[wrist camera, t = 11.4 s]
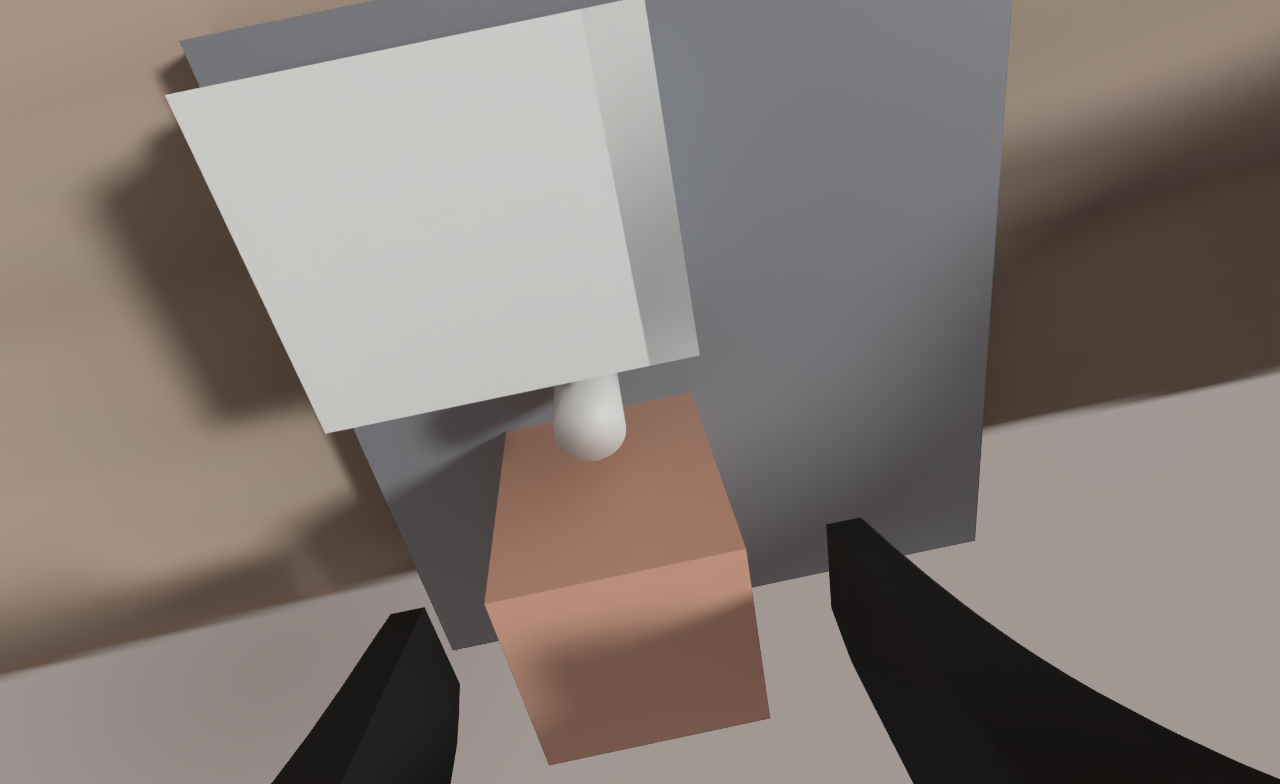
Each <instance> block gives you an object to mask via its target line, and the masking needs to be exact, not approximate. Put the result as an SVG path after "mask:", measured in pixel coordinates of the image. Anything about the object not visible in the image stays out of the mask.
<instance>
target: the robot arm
mask: <svg viewBox="0 0 1280 784" xmlns="http://www.w3.org/2000/svg"><path fill="white" fill-rule="evenodd" d="M826 532H827V547H828V562H829V577H830V593H831V607H832V610H833V613H834V616H835V619H836V622H837V624H838V627H839V630H840V632H841V635H842V638H843V640H844V643H845V645H846V648H847V651H848V654H849V656H850V659H851V661H852V663H853V665H854V667H855V669H856V672H857V674H858V676H859V678H860V679H861V681H862V683H863V685H864V687H865V689H866V691H867V693H868V695H869V697H870V699H871V701H872V703H873V705H874V707H875V709H876V711H877V713H878V715H879V717H880V719H881V721H882V723H883V725H884V727H885V728H886V731H887V732H888V735H889V737H890V739H891V741H892V743H893V744H894V746H895V748H896V750H897V752H898V754H899V756H900V758H901V760H902V762H903V764H904V766H905V768H906V770H907V772H908V774H909V776H910V778H911V780H912V782H913V784H1280V779H1278V778H1276V777H1273V776H1271V775H1268V774H1266V773H1263V772H1261V771H1259V770H1256V769H1253V768H1251V767H1249V766H1246V765H1244V764H1242V763H1239V762H1237V761H1235V760H1233V759H1230V758H1228V757H1226V756H1224V755H1222V754H1220V753H1217V752H1215V751H1213V750H1211V749H1209V748H1207V747H1205V746H1202V745H1200V744H1198V743H1196V742H1194V741H1192V740H1190V739H1187V738H1185V737H1183V736H1181V735H1179V734H1177V733H1175V732H1173V731H1171V730H1169V729H1167V728H1165V727H1163V726H1161V725H1159V724H1157V723H1155V722H1153V721H1151V720H1149V719H1147V718H1146V717H1144V716H1142V715H1140V714H1138V713H1136V712H1134V711H1132V710H1130V709H1128V708H1127V707H1124V706H1123V705H1121V704H1119V703H1117V702H1115V701H1113V700H1111V699H1110V698H1108V697H1106V696H1104V695H1102V694H1100V693H1098V692H1096V691H1095V690H1093V689H1091V688H1090V687H1088V686H1086V685H1084V684H1083V683H1081V682H1079V681H1078V680H1076V679H1074V678H1072V677H1071V676H1069V675H1067V674H1066V673H1064V672H1062V671H1061V670H1059V669H1058V668H1056V667H1054V666H1053V665H1051V664H1050V663H1048V662H1046V661H1044V660H1043V659H1041V658H1040V657H1038V656H1037V655H1035V654H1034V653H1032V652H1031V651H1029V650H1028V649H1026V648H1025V647H1023V646H1022V645H1020V644H1019V643H1017V642H1016V641H1014V640H1013V639H1011V638H1010V637H1008V636H1007V635H1006V634H1004V633H1003V632H1001V631H1000V630H998V629H997V628H996V627H994V626H993V625H991V624H990V623H989V622H987V621H986V620H984V619H983V618H982V617H980V616H979V615H978V614H976V613H975V612H974V611H972V610H971V609H970V608H968V607H967V606H966V605H964V604H963V603H962V602H960V601H959V600H958V599H957V598H955V597H954V596H953V595H952V594H950V593H949V592H948V591H946V590H945V589H944V588H943V587H942V586H940V585H939V584H938V583H936V582H935V581H934V580H933V579H931V578H930V577H929V576H928V575H927V574H925V573H924V572H923V571H922V570H920V569H919V568H918V567H917V566H916V565H915V564H913V563H912V562H911V561H910V560H909V559H908V558H906V557H905V556H904V555H903V554H902V553H901V552H900V551H898V550H897V549H896V548H895V547H894V546H893V545H892V544H891V543H889V542H888V541H887V540H886V539H885V538H884V537H883V536H882V535H881V534H879V533H878V532H877V531H876V530H875V529H874V528H873V527H872V526H871V525H870V524H869V523H867V522H866V521H865V520H863V519H862V518H855V519H850V520H845V521H840V522H835V523H831V524H826ZM459 694H460V683H459V681H458V679H457V677H456V675H455V673H454V670H453V668H452V666H451V664H450V662H449V660H448V658H447V655H446V653H445V651H444V649H443V646H442V644H441V642H440V640H439V638H438V636H437V633H436V631H435V629H434V627H433V625H432V623H431V620H430V618H429V616H428V614H427V612H426V609H425V608H418V609H414V610H409V611H404V612H399V613H394V614H391V615H390V616H389V618H388V619H387V620H386V622H385V623H384V625H383V626H382V628H381V629H380V631H379V632H378V634H377V635H376V636H375V638H374V639H373V641H372V642H371V644H370V645H369V647H368V648H367V650H366V651H365V653H364V654H363V656H362V657H361V659H360V661H359V662H358V663H357V665H356V666H355V668H354V669H353V671H352V672H351V674H350V675H349V677H348V678H347V680H346V682H345V683H344V684H343V686H342V687H341V689H340V691H339V692H338V693H337V694H336V696H335V698H334V699H333V700H332V702H331V703H330V704H329V706H328V707H327V709H326V710H325V712H324V713H323V715H322V716H321V717H320V719H319V720H318V722H317V723H316V725H315V726H314V727H313V729H312V730H311V732H310V733H309V734H308V736H307V737H306V738H305V740H304V741H303V742H302V744H301V745H300V746H299V748H298V749H297V750H296V752H295V753H294V754H293V756H292V757H291V758H290V760H289V761H288V762H287V764H286V765H285V766H284V768H283V769H282V770H281V772H280V773H279V775H278V776H277V777H276V778H275V780H274V781H273V782H272V783H271V784H450V783H451V777H452V772H453V766H454V759H455V753H456V747H457V736H458V719H459Z"/></svg>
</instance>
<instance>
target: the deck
mask: <svg viewBox="0 0 1280 784" xmlns="http://www.w3.org/2000/svg"><path fill="white" fill-rule="evenodd" d="M617 1H621V0H375V1H370V2H365V3H360V4H355V5H351V6H346V7H341V8H336V9H331V10H326V11H322V12H317V13H312V14H307V15H302V16H297V17H293V18H288V19H283V20H278V21H273V22H268V23H264V24H259V25H254V26H249V27H244V28H239V29H235V30H230V31H225V32H220V33H215V34H210V35H205V36H201V37H196V38H191V39H186V40H181V41H179V42H180V44H181V46H182V49H183V51H184V53H185V55H186V57H187V60H188V62H189V64H190V66H191V69H192V71H193V73H194V75H195V78H196V80H197V82H198V84H199V86H200V88H201V87H206V86H211V85H216V84H221V83H225V82H230V81H235V80H240V79H245V78H250V77H254V76H259V75H264V74H269V73H274V72H279V71H283V70H288V69H293V68H298V67H303V66H308V65H312V64H317V63H322V62H327V61H332V60H336V59H341V58H346V57H351V56H356V55H361V54H365V53H370V52H375V51H380V50H385V49H390V48H394V47H399V46H404V45H409V44H414V43H419V42H423V41H428V40H433V39H438V38H443V37H448V36H452V35H457V34H462V33H467V32H472V31H477V30H481V29H486V28H491V27H496V26H501V25H506V24H510V23H515V22H520V21H525V20H530V19H534V18H539V17H544V16H549V15H554V14H559V13H563V12H568V11H573V10H578V9H583V8H588V7H592V6H597V5H602V4H607V3H612V2H617ZM645 5H646V12H647V18H648V25H649V31H650V38H651V44H652V51H653V57H654V64H655V70H656V76H657V83H658V89H659V96H660V102H661V109H662V115H663V122H664V128H665V135H666V141H667V147H668V154H669V160H670V167H671V173H672V180H673V186H674V193H675V199H676V206H677V212H678V219H679V225H680V231H681V238H682V244H683V251H684V257H685V264H686V270H687V277H688V283H689V290H690V296H691V302H692V309H693V315H694V322H695V328H696V335H697V341H698V348H699V354H700V355H699V356H695V357H690V358H685V359H680V360H676V361H671V362H666V363H661V364H656V365H652V366H647V367H642V368H637V369H633V370H628V371H623V372H618V373H613V374H609V375H604V376H599V377H594V378H590V379H585V380H580V381H575V382H570V383H566V384H561V385H556V386H551V387H547V388H542V389H537V390H532V391H527V392H523V393H518V394H513V395H508V396H504V397H499V398H494V399H489V400H484V401H480V402H475V403H470V404H465V405H461V406H456V407H451V408H446V409H441V410H437V411H432V412H427V413H422V414H418V415H413V416H408V417H403V418H398V419H394V420H389V421H384V422H379V423H375V424H370V425H365V426H360V427H355V428H353V429H354V431H355V434H356V436H357V438H358V440H359V443H360V445H361V447H362V449H363V451H364V454H365V456H366V458H367V460H368V463H369V465H370V467H371V469H372V471H373V474H374V476H375V478H376V480H377V483H378V485H379V487H380V489H381V492H382V494H383V496H384V498H385V500H386V503H387V505H388V507H389V509H390V512H391V514H392V516H393V518H394V520H395V523H396V525H397V527H398V529H399V532H400V534H401V536H402V538H403V540H404V543H405V545H406V547H407V549H408V552H409V554H410V556H411V558H412V561H413V563H414V565H415V567H416V569H417V572H418V574H419V576H420V578H421V581H422V583H423V585H424V587H425V589H426V592H427V594H428V596H429V598H430V600H431V603H432V605H433V607H434V609H435V612H436V614H437V616H438V618H439V620H440V623H441V625H442V627H443V630H444V632H445V634H446V636H447V638H448V641H449V643H450V645H451V647H452V649H453V650H458V649H462V648H467V647H472V646H476V645H481V644H486V643H490V642H495V641H499V639H498V637H497V634H496V632H495V629H494V627H493V624H492V622H491V619H490V617H489V614H488V612H487V609H486V607H485V605H484V603H485V595H486V587H487V579H488V572H489V564H490V556H491V548H492V540H493V532H494V524H495V516H496V508H497V501H498V493H499V485H500V477H501V469H502V461H503V453H504V445H505V437H506V431H508V430H513V429H518V428H523V427H527V426H532V425H537V424H542V423H546V422H551V421H554V428H553V431H554V438H555V441H556V443H557V445H558V447H559V448H560V449H561V450H562V451H563V452H564V453H565V454H567V455H568V456H570V457H572V458H574V459H577V460H581V461H597V460H601V459H604V458H606V457H608V456H610V455H612V454H613V453H614V452H615V451H617V450H618V449H619V447H620V446H621V445H622V443H623V441H624V439H625V436H626V423H625V417H624V411H623V406H627V405H632V404H636V403H641V402H646V401H651V400H655V399H660V398H665V397H669V396H674V395H679V394H684V393H688V392H691V394H692V397H693V400H694V403H695V405H696V408H697V411H698V414H699V417H700V420H701V422H702V425H703V428H704V431H705V434H706V437H707V439H708V442H709V445H710V448H711V451H712V454H713V456H714V459H715V462H716V465H717V468H718V471H719V473H720V476H721V479H722V482H723V485H724V488H725V490H726V493H727V496H728V499H729V502H730V505H731V508H732V510H733V513H734V516H735V519H736V522H737V525H738V527H739V530H740V533H741V536H742V539H743V542H744V544H745V547H746V552H747V559H748V566H749V573H750V580H751V587H756V586H761V585H766V584H770V583H776V582H780V581H785V580H789V579H794V578H799V577H804V576H809V575H813V574H818V573H823V572H828V571H829V562H828V547H827V532H826V524H831V523H835V522H840V521H845V520H850V519H855V518H862V519H863V520H865V521H866V522H867V523H869V524H870V525H871V526H872V527H873V528H874V529H875V530H876V531H877V532H878V533H879V534H881V535H882V536H883V537H884V538H885V539H886V540H887V541H888V542H889V543H891V544H892V545H893V546H894V547H895V548H896V549H897V550H898V551H900V552H901V553H902V554H903V555H908V554H913V553H917V552H923V551H927V550H932V549H937V548H941V547H946V546H951V545H956V544H960V543H965V542H970V541H974V540H975V531H976V517H977V503H978V488H979V473H980V459H981V444H982V430H983V415H984V401H985V386H986V372H987V357H988V342H989V328H990V313H991V299H992V284H993V269H994V255H995V240H996V226H997V211H998V197H999V182H1000V167H1001V153H1002V138H1003V124H1004V109H1005V94H1006V80H1007V65H1008V51H1009V36H1010V21H1011V7H1012V0H645Z"/></svg>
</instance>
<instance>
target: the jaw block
mask: <svg viewBox="0 0 1280 784" xmlns="http://www.w3.org/2000/svg"><path fill="white" fill-rule="evenodd" d="M623 411H624V417H625V423H626V436H625V439H624V441H623V443H622V445H621V446H620V447H619V449H618V450H617V451H615V452H614V453H613V454H612V455H610V456H608V457H606V458H604V459H601V460H597V461H581V460H577V459H574V458H572V457H570V456H568V455H567V454H565V453H564V452H563V451H562V450H561V449H560V448H559V447H558V445H557V443H556V441H555V438H554V431H553V428H554V421H551V422H546V423H542V424H537V425H532V426H527V427H523V428H518V429H513V430H508V431H506V437H505V445H504V453H503V461H502V469H501V477H500V485H499V493H498V501H497V508H496V516H495V524H494V532H493V540H492V548H491V556H490V564H489V572H488V579H487V587H486V595H485V603H484V605H485V607H486V609H487V612H488V614H489V617H490V619H491V622H492V624H493V627H494V629H495V632H496V634H497V637H498V639H499V642H500V644H501V647H502V649H503V652H504V654H505V657H506V659H507V662H508V664H509V667H510V669H511V672H512V674H513V677H514V679H515V681H516V684H517V686H518V689H519V692H520V694H521V696H522V699H523V701H524V704H525V707H526V709H527V712H528V714H529V716H530V719H531V721H532V724H533V726H534V729H535V731H536V734H537V736H538V739H539V741H540V744H541V746H542V749H543V751H544V754H545V756H546V759H547V761H548V764H549V765H553V764H558V763H563V762H567V761H572V760H577V759H581V758H586V757H591V756H596V755H600V754H605V753H610V752H614V751H619V750H624V749H629V748H633V747H638V746H643V745H647V744H652V743H657V742H661V741H666V740H671V739H676V738H680V737H685V736H690V735H694V734H699V733H704V732H708V731H713V730H718V729H723V728H727V727H732V726H736V725H741V724H746V723H751V722H755V721H760V720H765V719H769V718H770V714H769V707H768V699H767V693H766V685H765V678H764V672H763V664H762V658H761V651H760V643H759V637H758V629H757V622H756V615H755V608H754V601H753V594H752V587H751V580H750V573H749V566H748V559H747V552H746V547H745V544H744V542H743V539H742V536H741V533H740V530H739V527H738V525H737V522H736V519H735V516H734V513H733V510H732V508H731V505H730V502H729V499H728V496H727V493H726V490H725V488H724V485H723V482H722V479H721V476H720V473H719V471H718V468H717V465H716V462H715V459H714V456H713V454H712V451H711V448H710V445H709V442H708V439H707V437H706V434H705V431H704V428H703V425H702V422H701V420H700V417H699V414H698V411H697V408H696V405H695V403H694V400H693V397H692V394H691V392H688V393H684V394H679V395H674V396H669V397H665V398H660V399H655V400H651V401H646V402H641V403H636V404H632V405H627V406H623Z"/></svg>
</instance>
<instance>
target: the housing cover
mask: <svg viewBox="0 0 1280 784" xmlns="http://www.w3.org/2000/svg"><path fill="white" fill-rule="evenodd" d="M165 96H166V98H167V101H168V103H169V105H170V107H171V109H172V111H173V113H174V115H175V117H176V120H177V122H178V124H179V126H180V128H181V130H182V132H183V134H184V136H185V139H186V141H187V143H188V145H189V147H190V149H191V151H192V153H193V155H194V157H195V160H196V162H197V164H198V166H199V168H200V170H201V172H202V174H203V176H204V179H205V181H206V183H207V185H208V187H209V189H210V191H211V193H212V195H213V198H214V200H215V202H216V204H217V206H218V208H219V210H220V212H221V214H222V217H223V219H224V221H225V223H226V225H227V227H228V229H229V231H230V233H231V236H232V238H233V240H234V242H235V244H236V246H237V248H238V250H239V252H240V255H241V257H242V259H243V261H244V263H245V265H246V267H247V269H248V271H249V273H250V276H251V278H252V280H253V282H254V284H255V286H256V288H257V290H258V292H259V295H260V297H261V299H262V301H263V303H264V305H265V307H266V309H267V311H268V314H269V316H270V318H271V320H272V322H273V324H274V326H275V328H276V330H277V333H278V335H279V337H280V339H281V341H282V343H283V345H284V347H285V349H286V352H287V354H288V356H289V358H290V360H291V362H292V364H293V366H294V368H295V371H296V373H297V375H298V377H299V379H300V381H301V383H302V385H303V387H304V389H305V392H306V394H307V396H308V398H309V400H310V402H311V404H312V406H313V408H314V411H315V413H316V415H317V417H318V419H319V421H320V423H321V425H322V427H323V430H324V432H325V434H327V433H331V432H336V431H341V430H346V429H351V428H355V427H360V426H365V425H370V424H375V423H379V422H384V421H389V420H394V419H398V418H403V417H408V416H413V415H418V414H422V413H427V412H432V411H437V410H441V409H446V408H451V407H456V406H461V405H465V404H470V403H475V402H480V401H484V400H489V399H494V398H499V397H504V396H508V395H513V394H518V393H523V392H527V391H532V390H537V389H542V388H547V387H551V386H556V385H561V384H566V383H570V382H575V381H580V380H585V379H590V378H594V377H599V376H604V375H609V374H613V373H618V372H623V371H628V370H633V369H637V368H642V367H647V366H652V365H656V364H661V363H666V362H671V361H676V360H680V359H685V358H690V357H695V356H699V355H700V354H699V348H698V341H697V335H696V328H695V322H694V315H693V309H692V302H691V296H690V290H689V283H688V277H687V270H686V264H685V257H684V251H683V244H682V238H681V231H680V225H679V219H678V212H677V206H676V199H675V193H674V186H673V180H672V173H671V167H670V160H669V154H668V147H667V141H666V135H665V128H664V122H663V115H662V109H661V102H660V96H659V89H658V83H657V76H656V70H655V64H654V57H653V51H652V44H651V38H650V31H649V25H648V18H647V12H646V5H645V0H621V1H617V2H612V3H607V4H602V5H597V6H592V7H588V8H583V9H578V10H573V11H568V12H563V13H559V14H554V15H549V16H544V17H539V18H534V19H530V20H525V21H520V22H515V23H510V24H506V25H501V26H496V27H491V28H486V29H481V30H477V31H472V32H467V33H462V34H457V35H452V36H448V37H443V38H438V39H433V40H428V41H423V42H419V43H414V44H409V45H404V46H399V47H394V48H390V49H385V50H380V51H375V52H370V53H365V54H361V55H356V56H351V57H346V58H341V59H336V60H332V61H327V62H322V63H317V64H312V65H308V66H303V67H298V68H293V69H288V70H283V71H279V72H274V73H269V74H264V75H259V76H254V77H250V78H245V79H240V80H235V81H230V82H225V83H221V84H216V85H211V86H206V87H201V88H196V89H192V90H187V91H182V92H177V93H172V94H167V95H165Z"/></svg>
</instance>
